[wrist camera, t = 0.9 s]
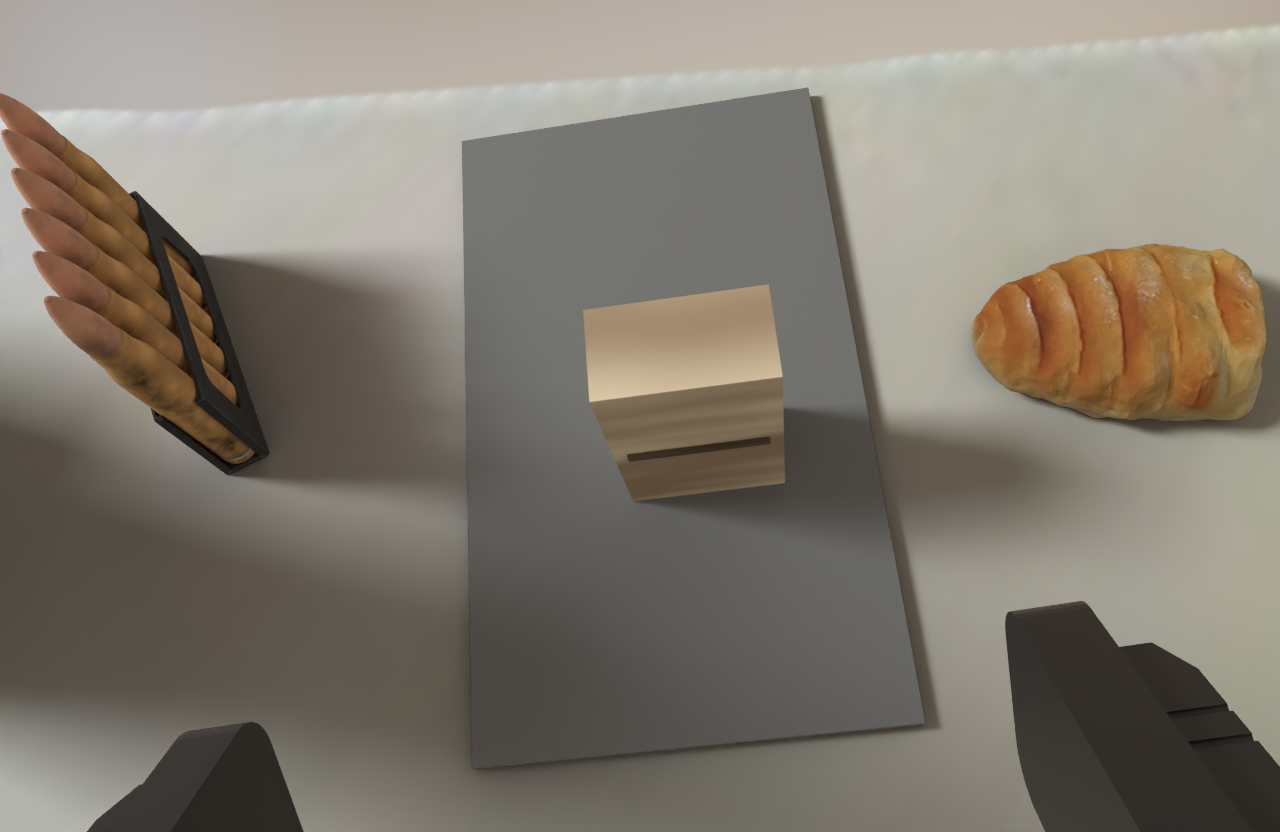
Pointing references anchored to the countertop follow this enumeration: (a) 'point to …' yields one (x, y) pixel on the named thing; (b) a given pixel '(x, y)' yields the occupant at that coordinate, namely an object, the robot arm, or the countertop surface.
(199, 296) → the ammunition clip
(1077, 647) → the robot arm
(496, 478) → the mat
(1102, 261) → the pastry
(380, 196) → the countertop surface
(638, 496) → the wooden block
